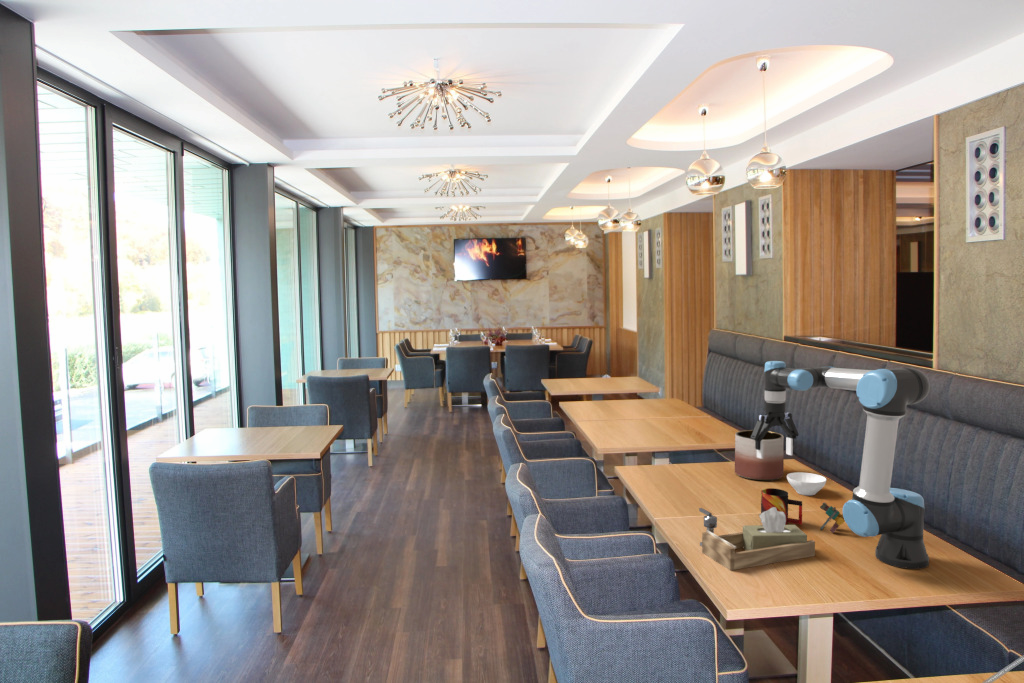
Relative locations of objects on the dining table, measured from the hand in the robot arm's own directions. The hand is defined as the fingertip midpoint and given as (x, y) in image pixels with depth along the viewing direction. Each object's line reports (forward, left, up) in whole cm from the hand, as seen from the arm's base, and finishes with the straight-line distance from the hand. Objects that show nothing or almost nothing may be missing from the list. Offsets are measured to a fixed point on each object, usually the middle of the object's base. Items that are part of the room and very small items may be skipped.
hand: (774, 456), depth 249 cm
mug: (-2, -1, -26) cm, 26 cm away
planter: (+54, -36, -26) cm, 70 cm away
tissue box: (-24, +20, -26) cm, 41 cm away
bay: (-24, +26, -26) cm, 43 cm away
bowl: (+24, -37, -26) cm, 51 cm away
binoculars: (-16, -13, -26) cm, 33 cm away
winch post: (-11, +38, -26) cm, 47 cm away
